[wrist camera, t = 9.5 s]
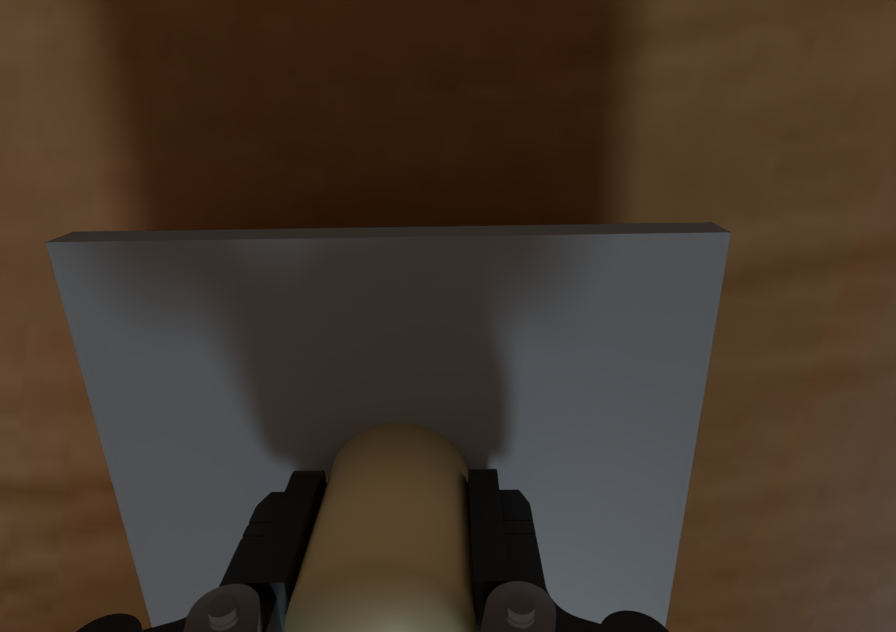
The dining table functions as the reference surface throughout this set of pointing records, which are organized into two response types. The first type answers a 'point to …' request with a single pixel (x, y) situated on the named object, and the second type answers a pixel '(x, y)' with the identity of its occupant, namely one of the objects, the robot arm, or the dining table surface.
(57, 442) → the dining table surface
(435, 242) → the lid
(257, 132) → the dining table surface
